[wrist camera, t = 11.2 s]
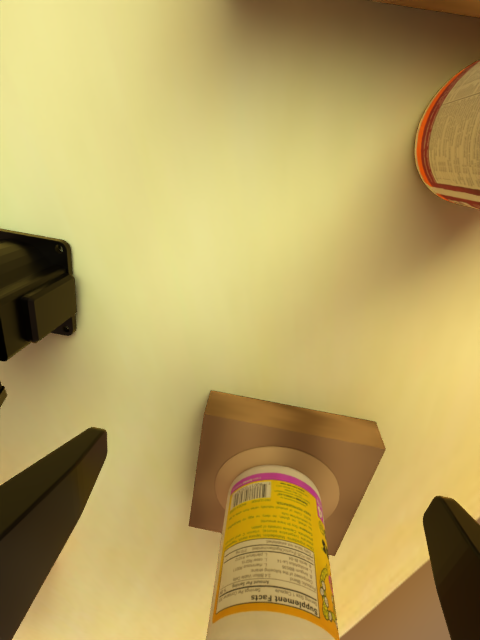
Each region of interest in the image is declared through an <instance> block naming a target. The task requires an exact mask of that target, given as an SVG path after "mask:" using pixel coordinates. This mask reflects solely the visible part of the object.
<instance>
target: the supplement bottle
mask: <svg viewBox="0 0 480 640" xmlns="http://www.w3.org/2000/svg"><path fill="white" fill-rule="evenodd" d="M206 640H339V634H338V626H337V619H336V611H335V603H334V596H333V588H332V580H331V572H330V563H329V556H328V548H327V540H326V533H325V525H324V517H323V510H322V504H321V498H320V495H319V492H318V490H317V488H316V486H315V485H314V483H313V482H312V481H311V480H310V479H309V478H308V477H307V476H305V475H304V474H302V473H301V472H299V471H297V470H295V469H292V468H289V467H285V466H279V465H261V466H256V467H253V468H250V469H248V470H246V471H244V472H242V473H241V474H240V475H239V476H237V477H236V479H235V480H234V481H233V483H232V484H231V486H230V489H229V492H228V497H227V503H226V510H225V516H224V523H223V530H222V537H221V544H220V550H219V557H218V564H217V571H216V578H215V584H214V590H213V597H212V604H211V610H210V617H209V623H208V629H207V636H206Z"/></svg>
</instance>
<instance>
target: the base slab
mask: <svg viewBox="0 0 480 640" xmlns="http://www.w3.org/2000/svg"><path fill="white" fill-rule="evenodd" d="M384 452H385V446H384V443H383V440H382V438H381V435H380V432H379V429H378V427H377V424H376V422H373V421H368V420H363V419H357V418H352V417H347V416H342V415H337V414H331V413H326V412H321V411H316V410H311V409H305V408H300V407H295V406H290V405H284V404H279V403H274V402H269V401H264V400H258V399H253V398H248V397H243V396H238V395H232V394H227V393H222V392H217V391H211V392H210V396H209V399H208V402H207V406H206V409H205V412H204V418H203V425H202V433H201V440H200V447H199V455H198V462H197V469H196V477H195V484H194V491H193V499H192V506H191V513H190V521H189V526H191V527H195V528H200V529H205V530H210V531H215V532H220V533H222V530H223V523H224V516H225V510H226V503H227V497H228V492H229V489H230V486H231V484H232V483H233V481H234V480H235V479H236V477H237V476H239V475H240V474H241V473H242V472H244V471H246V470H248V469H250V468H253V467H256V466H261V465H279V466H285V467H289V468H292V469H295V470H297V471H299V472H301V473H302V474H304V475H305V476H307V477H308V478H309V479H310V480H311V481H312V482H313V483H314V485H315V486H316V488H317V490H318V492H319V495H320V498H321V504H322V510H323V517H324V525H325V533H326V540H327V548H328V555H333V556H335V554H336V552H337V550H338V548H339V546H340V544H341V542H342V540H343V538H344V535H345V533H346V531H347V529H348V527H349V525H350V523H351V521H352V519H353V517H354V514H355V512H356V510H357V508H358V506H359V504H360V502H361V500H362V498H363V496H364V494H365V491H366V489H367V487H368V485H369V483H370V481H371V479H372V477H373V475H374V473H375V470H376V468H377V466H378V464H379V462H380V460H381V458H382V456H383V454H384Z"/></svg>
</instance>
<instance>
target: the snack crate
mask: <svg viewBox="0 0 480 640" xmlns="http://www.w3.org/2000/svg"><path fill="white" fill-rule="evenodd" d="M369 1H376V2H382V3H389V4H395V5H401V6H408V7H414V8H421V9H427V10H434V11H440V12H446V13H453V14H459V15H466V16H472V17H479V18H480V0H369Z"/></svg>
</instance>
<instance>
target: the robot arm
mask: <svg viewBox="0 0 480 640" xmlns="http://www.w3.org/2000/svg"><path fill="white" fill-rule="evenodd" d="M59 246H61V247H62V249H63V252H62V251H60V249H59ZM76 312H77V308H76V294H75V279H74V277H73V275H72V262H71V249H70V246H69V244H68V243H67V242H66V241H64V240H60V239H55V238H49V237H44V236H38V235H33V234H27V233H22V232H16V231H11V230H5V229H0V361H7V360H8V359H9V358H11V357H12V356H13V355H15V354H16V353H17V352H19V351H20V350H22V349H23V348H24V347H26V346H27V345H28V344H30V343H31V342H32V343H37V342H38V341H40V340H41V339H42V338H44V337H45V336H46V335H48V334H49V333H56V334H61V335H66V336H69V335H71V334H73V333H74V332H75V331H76V317H75V313H76ZM66 326H67V327H68V328H69V329H67V328H66ZM6 397H7V393H6V390H5V387H4V386H2V385H1V382H0V407H1V405H2V404H3V402H4V400H5V398H6ZM106 456H107V432H106V430H105V429H101V428H96V427H91V428H88V429H87V430H85V431H84V432H82V433H81V434H79V435H78V436H76V437H75V438H73V439H71V440H70V441H68V442H67V443H65V444H64V445H62V446H61V447H59V448H58V449H56V450H55V451H53V452H51V453H50V454H48V455H47V456H45V457H44V458H42V459H41V460H39V461H38V462H36V463H34V464H33V465H31V466H30V467H28V468H27V469H25V470H24V471H22V472H21V473H19V474H18V475H16V476H14V477H13V478H11V479H10V480H8V481H7V482H5V483H4V484H2V485H1V486H0V640H12V638H13V636H14V635H15V633H16V631H17V629H18V628H19V626H20V624H21V622H22V620H23V619H24V617H25V615H26V613H27V611H28V610H29V608H30V606H31V604H32V602H33V601H34V599H35V597H36V595H37V594H38V592H39V590H40V588H41V586H42V585H43V583H44V581H45V579H46V577H47V576H48V574H49V572H50V570H51V568H52V567H53V565H54V563H55V561H56V559H57V558H58V556H59V554H60V552H61V551H62V549H63V547H64V545H65V543H66V542H67V540H68V538H69V536H70V534H71V533H72V531H73V529H74V527H75V525H76V524H77V522H78V520H79V518H80V516H81V514H82V512H83V510H84V507H85V505H86V503H87V501H88V498H89V496H90V494H91V491H92V489H93V487H94V484H95V482H96V480H97V478H98V475H99V473H100V471H101V468H102V466H103V464H104V461H105V459H106ZM423 526H424V531H425V536H426V541H427V546H428V551H429V556H430V561H431V566H432V571H433V576H434V580H435V585H436V589H437V593H438V596H439V600H440V603H441V607H442V610H443V613H444V617H445V620H446V623H447V627H448V630H449V634H450V637H451V640H480V525H479V524H478V523H477V522H476V521H475V520H474V519H473V518H472V517H471V516H470V515H469V514H468V513H467V512H466V511H465V510H464V509H463V508H462V507H461V506H460V505H459V504H458V503H457V502H456V501H455V500H454V499H452V498H448V497H443V496H436V497H435V498H434V499H433V500H432V502H431V504H430V505H429V507H428V508H427V510H426V512H425V513H424V516H423Z"/></svg>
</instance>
